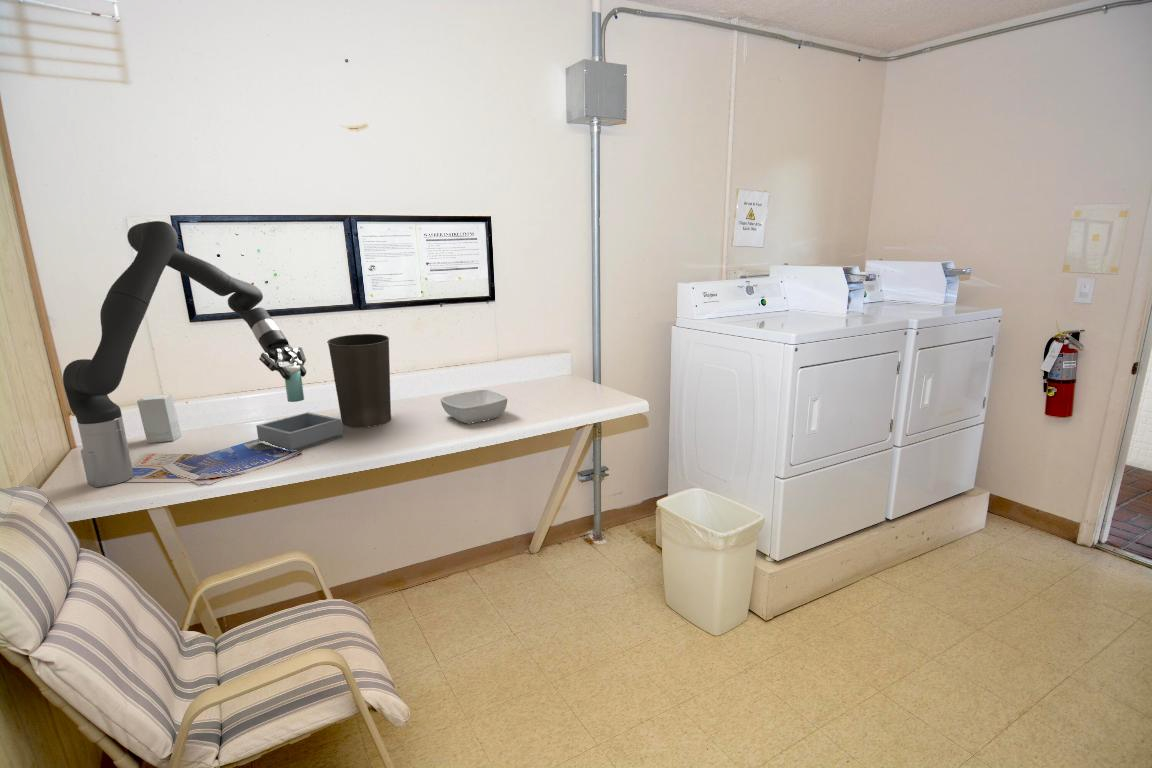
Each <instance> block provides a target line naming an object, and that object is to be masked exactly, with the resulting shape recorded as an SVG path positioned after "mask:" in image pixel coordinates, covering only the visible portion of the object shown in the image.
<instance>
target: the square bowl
mask: <svg viewBox="0 0 1152 768" xmlns="http://www.w3.org/2000/svg"><path fill="white" fill-rule="evenodd" d="M440 403H441V406H442V408H443V411H444V412H445V413H446V414H447V415H449V416H451V418H453V417H454V419H455V420H457V421H458V420H459V421H458V422H460V421H461V422H460V423H462V422H464V423H463V424H465V423H472V422H478V421H483V420H487V421H489V420H488V419H492V420H494V419H493V418H496V419H498V418H499V417H501V416H502V415H503V414H504V413H505V411H506V408H507V404H508V397H506V396H505V395H503V394H500V393H497V392H495V391H492V390H489V389H479V390H471V391H463V392H459V393H453V394H450V395H445V396H443V397H441V398H440ZM497 417H498V418H497ZM483 422H484V421H483ZM478 423H479V422H478ZM472 424H473V423H472Z"/></svg>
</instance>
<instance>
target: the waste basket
mask: <svg viewBox="0 0 1152 768" xmlns="http://www.w3.org/2000/svg"><path fill="white" fill-rule="evenodd" d="M327 344H328V351H329V355H330V360H331V361H330V362H331V368H332V373H333V378H334V379H333V380H334V385H335V390H336V396H337V402H338V408H339V413H340V414H339V415H340V419H341V425H343V426H344V427H347V426H348V427H347V428H355V427H362V428H369V427H368V426H371V427H375V426H374V425H377V426H380V425H379V424H381V425H383V424H382V423H384V424H386V423H388V422H389V421H391V418H392V413H391V412H392V410H391V409H392V407H391V405H392V404H391V403H392V400H391V376H390V375H391V371H390V337H389V336H388V335H385V334H378V333H361V334H347V335H340V336H336V337H332V338H329V339H328V340H327ZM387 421H388V422H387ZM385 422H386V423H385Z"/></svg>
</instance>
